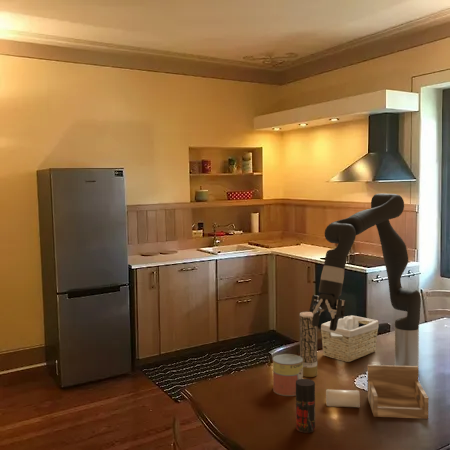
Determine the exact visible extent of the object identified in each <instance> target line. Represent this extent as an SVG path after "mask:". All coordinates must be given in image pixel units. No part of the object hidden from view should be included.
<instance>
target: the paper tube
mask: <svg viewBox="0 0 450 450" xmlns="http://www.w3.org/2000/svg"><path fill="white" fill-rule="evenodd" d="M312 319H313V313H312V312H310V311H302V312H299V356H301V357H302V358H303V377H304V378H313V377H317V375H318V326H313V325H312Z"/></svg>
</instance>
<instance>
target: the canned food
mask: <svg viewBox="0 0 450 450" xmlns="http://www.w3.org/2000/svg"><path fill="white" fill-rule="evenodd" d="M272 377H273V378H272V383H273V384H272V385H273V389H272V391H273V392H274V394H277V395H279V396H283V397H296V381H297V380H299V379H304V376H303V358H302V357H301V356H300V355H298V354H293V353H280V354H277V355H275V356H273V357H272Z"/></svg>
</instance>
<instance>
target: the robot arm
mask: <svg viewBox="0 0 450 450" xmlns="http://www.w3.org/2000/svg"><path fill="white" fill-rule="evenodd" d="M404 201H405V200H404V198H403V197H402V196H401V195H400V194H396V193H375V194H374V195H373V196H372V197H371V202H370V208H368V209H364V210H360V211H358V212H355V213H353V214H352V215H350V216H348V217H345V218H342V219H338V220H336V221H332V222H330V223H329V224H327V226H326V228H325V230H324V238H325V240H326V241H327V242H329V243H331V244H335V245H336V244H337V245H336V247H335V248H333V249H328V250H327V251H326V253H325V258H324V262H323V267H322V269H321V270H322V271H321V275H320V282H319V287H318V293H319V295H316V294H313V295H312V297H311V302H310V306H309V309H308V310H309V311H308V312H312V313H313V319H312V325H313V326H317V327H319V322H320V317H321V314H322V313H323V312H325V311H328V312H329V314H330V316H331V319H330V321H331V323H330V330H333V331H335V330H336V328H337V324H338V320H339V319H341V318H342V319H343V318H344V317H345V313H346V312H345V311H346V303H347V301H346V300H345V299H341V298H340V299H339V297H341V296H342V290H343V284H344V280H345V279H344V278H345V269H346V263H347V257H348V256H349V253H350V252H351V249H352V247H353V245H354V243H355V240H356V237H357V236H358V235H360V234H362V233H363V232H365V231H367V230H369V229H370V228H372V227H374V226H375V227H376V229H377V233H378V237H379V242H380V245H381V251H382V257H383V261H384V265H385V269H386V277H387V281H388V291H389V298H390V303H391V306H392V308H393V309H394V310H397V311H403V312H407V315H406V316H405V317H400V318H397V319H395V321H394V365H396V366H418V367H419V357H420V356H419V351H420V349H419V347H420V346H419V344H420V343H419V341H420V339H419V338H420V337H419V335H420V334H419V333H420V331H419V330H420V327H419V326H420V325H419V324H420V322H421V321H420V320H421V307H422V306H421V305H422V296H421V293H420V291H419V290H416V289H412V288H405V287H403V286H402V283H401V281H402V280H401V279H402V275H403V274H404V272H405V271H406V268H407V266H408V265H409V264H408V263H409V255H408V251H407V250H408V248H407V245H406V243H405V241H404V240H403V238H402V237H401V236H400V235H399V234H398V233H397V231H396V230H395V229H394V228H393V226H392V224H391V222H390V220H392V219H396V218H398V217H400V216H401V215H402V214H403V212H404V210H405V202H404Z"/></svg>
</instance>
